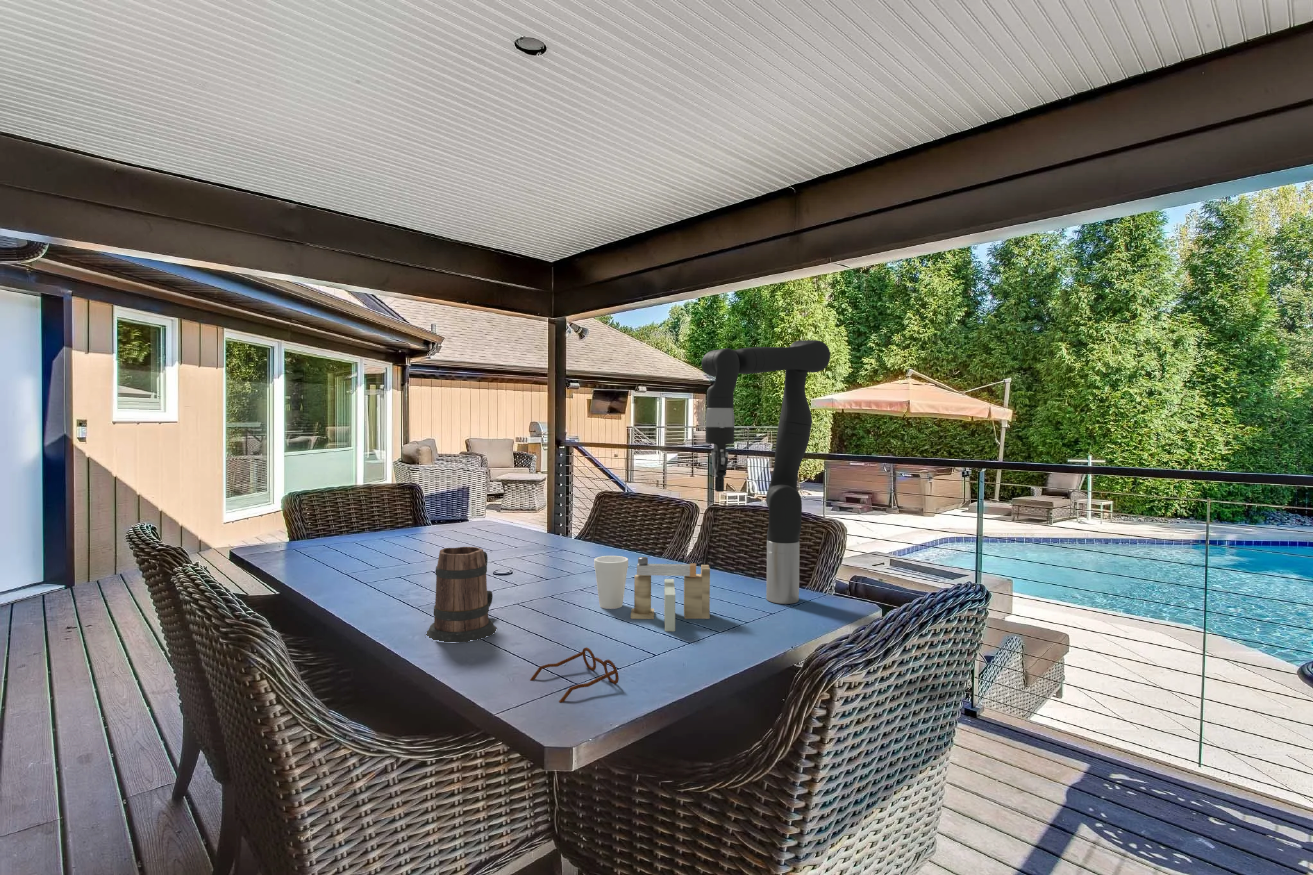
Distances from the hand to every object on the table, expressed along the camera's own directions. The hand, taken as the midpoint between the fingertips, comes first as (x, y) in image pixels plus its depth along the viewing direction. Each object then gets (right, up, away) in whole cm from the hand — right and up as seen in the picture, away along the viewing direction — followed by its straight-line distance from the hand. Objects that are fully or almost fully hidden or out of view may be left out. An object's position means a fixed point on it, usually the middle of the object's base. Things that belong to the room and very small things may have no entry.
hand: (719, 491), depth 172 cm
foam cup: (-29, -33, +10) cm, 45 cm away
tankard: (-63, -33, -10) cm, 72 cm away
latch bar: (-14, -22, 0) cm, 26 cm away
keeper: (-6, -33, +1) cm, 34 cm away
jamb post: (-20, -33, +1) cm, 39 cm away
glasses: (-33, -35, -44) cm, 65 cm away
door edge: (-13, -33, -4) cm, 36 cm away
